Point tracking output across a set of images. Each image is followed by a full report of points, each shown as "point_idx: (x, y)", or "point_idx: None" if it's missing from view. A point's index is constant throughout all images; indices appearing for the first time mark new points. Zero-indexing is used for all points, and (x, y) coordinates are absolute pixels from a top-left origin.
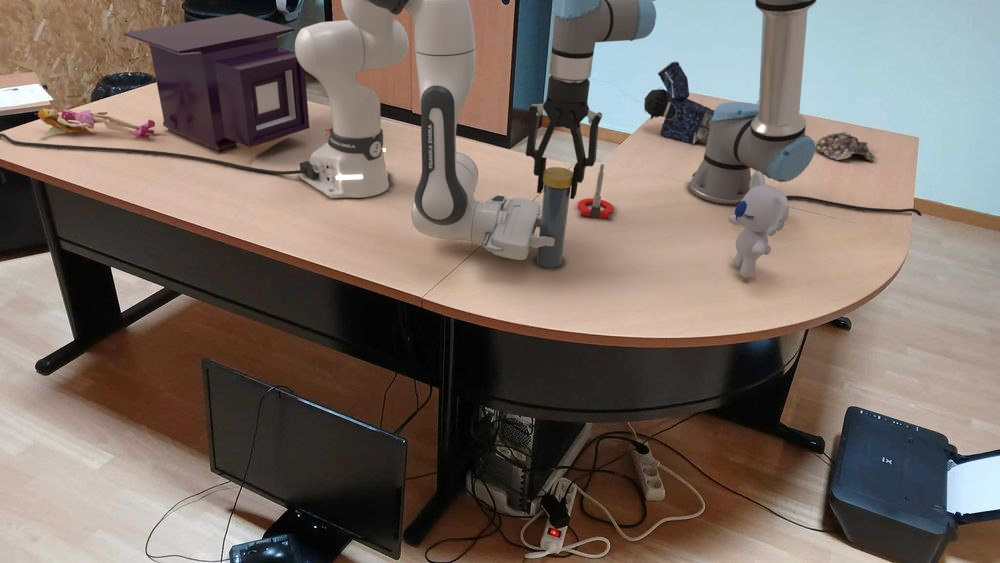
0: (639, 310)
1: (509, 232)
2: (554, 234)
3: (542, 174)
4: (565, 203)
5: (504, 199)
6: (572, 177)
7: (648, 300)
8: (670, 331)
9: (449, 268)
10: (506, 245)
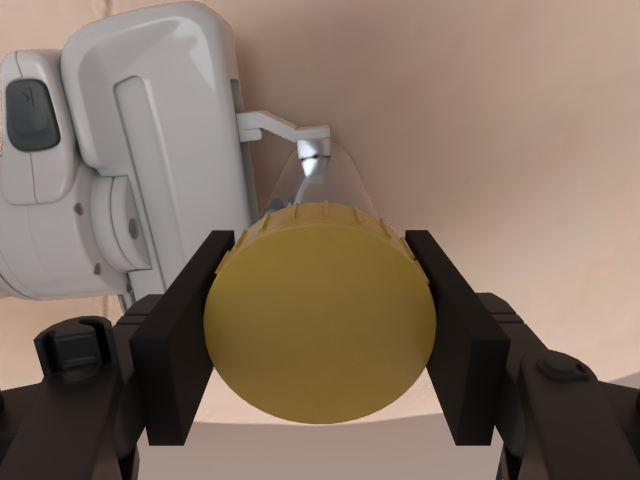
0: (565, 315)
1: None
2: None
3: (211, 365)
4: None
5: (58, 108)
6: (428, 360)
7: (593, 269)
8: (625, 364)
9: (93, 300)
10: None
